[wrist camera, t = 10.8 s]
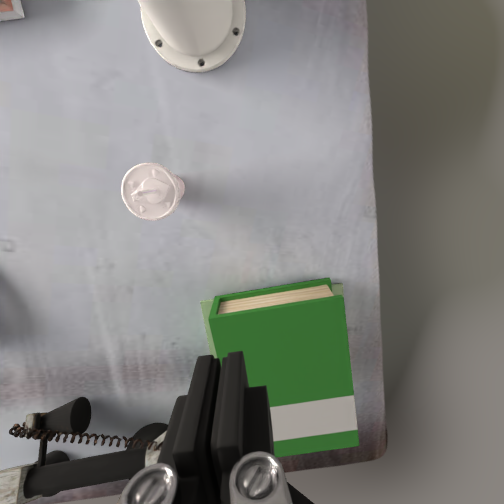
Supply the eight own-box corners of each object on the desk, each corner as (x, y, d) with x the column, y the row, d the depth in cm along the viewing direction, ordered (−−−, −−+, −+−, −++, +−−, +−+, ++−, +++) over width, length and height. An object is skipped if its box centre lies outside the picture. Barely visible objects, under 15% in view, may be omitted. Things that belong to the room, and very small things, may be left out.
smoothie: (201, 202, 43) (178, 216, 30) (159, 216, 44) (118, 236, 30) (184, 157, 42) (152, 151, 28) (141, 172, 42) (89, 173, 29)
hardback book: (343, 297, 39) (359, 445, 45) (329, 277, 46) (344, 407, 52) (208, 319, 39) (241, 462, 45) (214, 296, 47) (243, 422, 53)
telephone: (195, 380, 57) (42, 409, 58) (172, 375, 46) (-17, 412, 47) (203, 478, 50) (30, 510, 51) (178, 501, 39) (-44, 542, 40)
